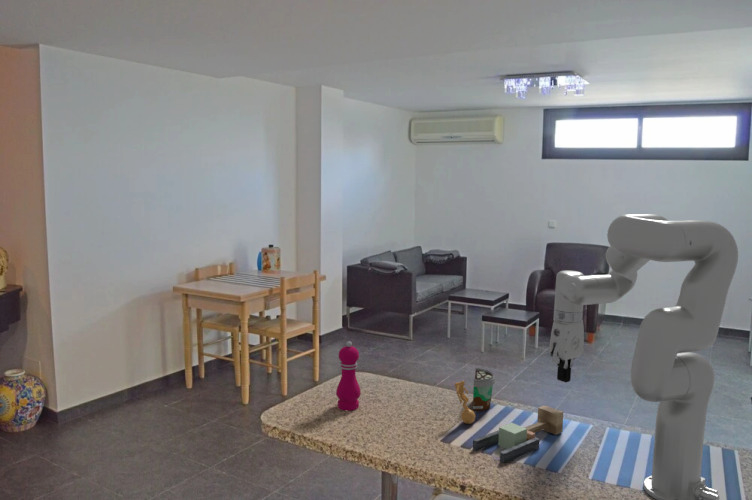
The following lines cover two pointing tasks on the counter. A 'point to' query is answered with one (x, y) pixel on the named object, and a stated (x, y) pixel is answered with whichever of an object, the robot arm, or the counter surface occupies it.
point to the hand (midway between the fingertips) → (563, 380)
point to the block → (511, 435)
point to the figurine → (467, 414)
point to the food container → (482, 389)
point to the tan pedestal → (546, 422)
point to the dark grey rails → (508, 453)
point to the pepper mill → (348, 379)
